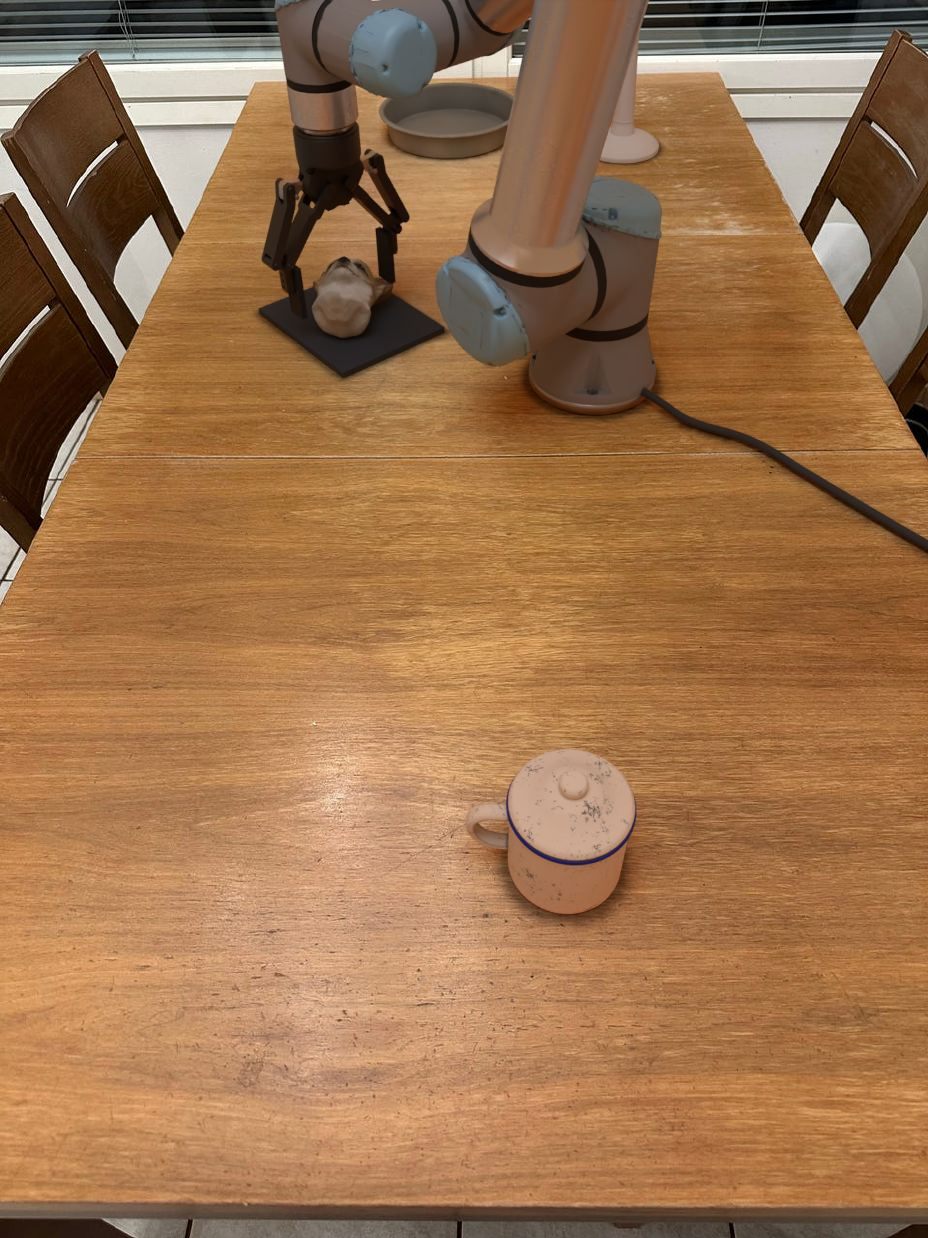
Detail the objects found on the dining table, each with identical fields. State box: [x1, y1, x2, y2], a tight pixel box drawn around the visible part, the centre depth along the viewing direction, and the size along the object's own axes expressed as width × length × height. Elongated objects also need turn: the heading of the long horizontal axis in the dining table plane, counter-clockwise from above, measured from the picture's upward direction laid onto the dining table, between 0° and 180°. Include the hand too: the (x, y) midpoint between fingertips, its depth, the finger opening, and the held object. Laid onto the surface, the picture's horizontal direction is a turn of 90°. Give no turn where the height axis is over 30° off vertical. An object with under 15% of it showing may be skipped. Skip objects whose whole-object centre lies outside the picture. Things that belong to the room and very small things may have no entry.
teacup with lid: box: [465, 748, 637, 915], centre depth 68 cm, size 12×9×12 cm
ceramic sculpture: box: [312, 255, 394, 338], centre depth 121 cm, size 11×9×15 cm
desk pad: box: [258, 286, 445, 379], centre depth 125 cm, size 20×16×1 cm
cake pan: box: [378, 82, 514, 159], centre depth 165 cm, size 25×25×4 cm
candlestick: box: [599, 34, 660, 164], centre depth 150 cm, size 13×13×30 cm
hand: (344, 296), depth 122 cm, fingers open, 13 cm apart
